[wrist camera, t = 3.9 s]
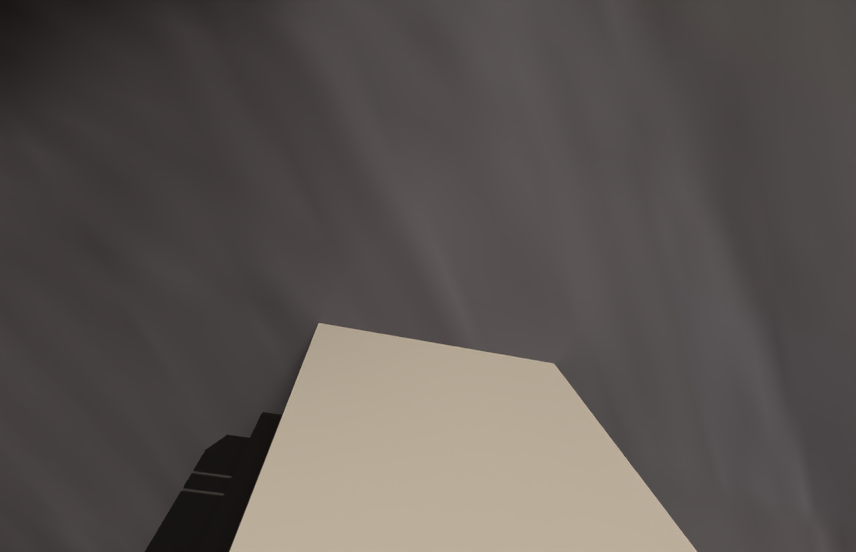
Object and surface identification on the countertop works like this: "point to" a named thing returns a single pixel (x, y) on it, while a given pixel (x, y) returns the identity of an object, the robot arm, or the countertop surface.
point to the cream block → (443, 459)
